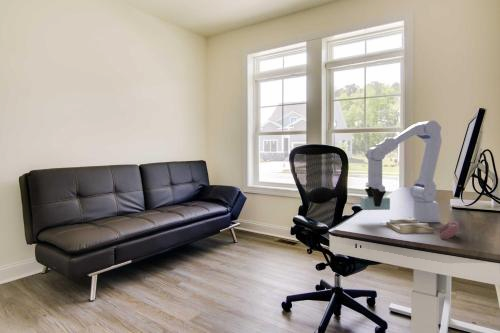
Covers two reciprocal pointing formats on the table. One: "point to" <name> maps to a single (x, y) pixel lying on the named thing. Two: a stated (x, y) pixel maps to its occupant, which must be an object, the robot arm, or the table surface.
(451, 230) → the pink knobbed toy
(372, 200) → the light blue rectangular block
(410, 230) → the display stand
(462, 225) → the table surface
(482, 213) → the table surface
